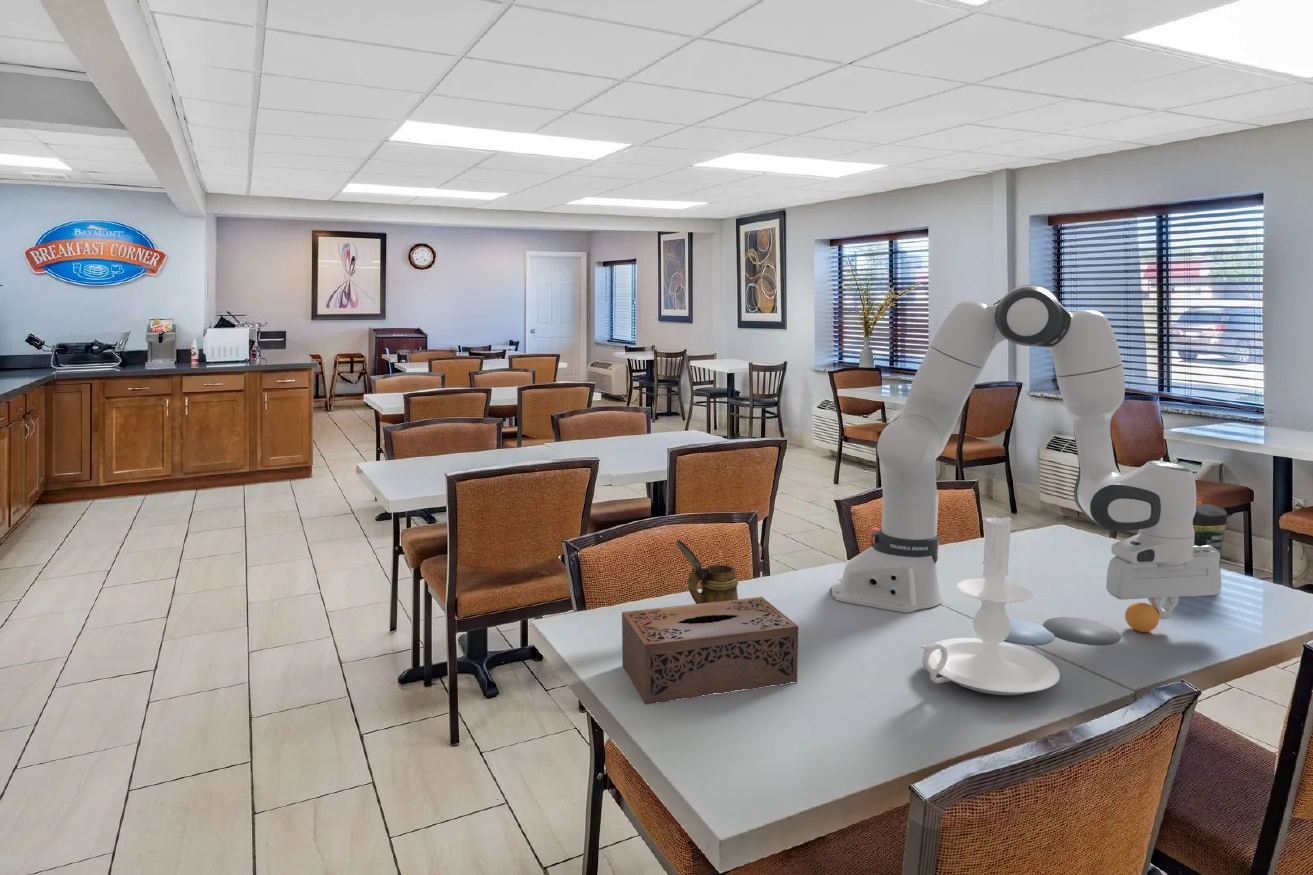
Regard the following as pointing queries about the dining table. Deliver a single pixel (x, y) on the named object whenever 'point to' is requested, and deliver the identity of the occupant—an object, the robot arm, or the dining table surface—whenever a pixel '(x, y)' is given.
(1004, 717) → the dining table surface
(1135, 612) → the ball
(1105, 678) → the dining table surface
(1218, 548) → the coffee jar
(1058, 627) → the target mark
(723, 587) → the wooden mug
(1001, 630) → the candlestick
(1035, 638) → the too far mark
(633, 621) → the tissue box cover
